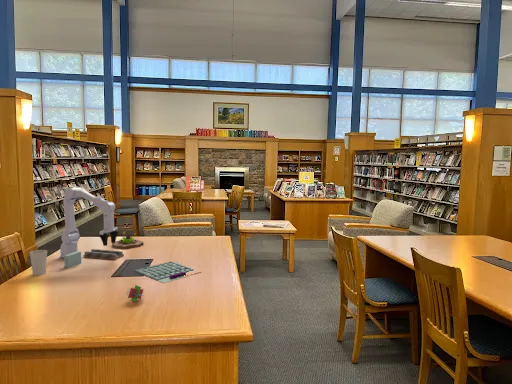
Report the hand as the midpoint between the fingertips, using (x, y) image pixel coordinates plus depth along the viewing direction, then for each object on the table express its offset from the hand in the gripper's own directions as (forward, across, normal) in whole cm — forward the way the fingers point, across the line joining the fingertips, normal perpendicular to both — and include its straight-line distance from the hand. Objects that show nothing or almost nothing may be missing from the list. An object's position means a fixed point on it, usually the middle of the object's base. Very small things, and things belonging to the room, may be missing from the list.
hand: (109, 244), depth 221 cm
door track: (+10, +6, +9) cm, 15 cm away
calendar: (+11, -9, -46) cm, 48 cm away
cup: (+10, -33, +19) cm, 40 cm away
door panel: (+10, -15, +13) cm, 23 cm away
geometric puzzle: (+10, -51, -51) cm, 73 cm away
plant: (+11, +36, +12) cm, 40 cm away
